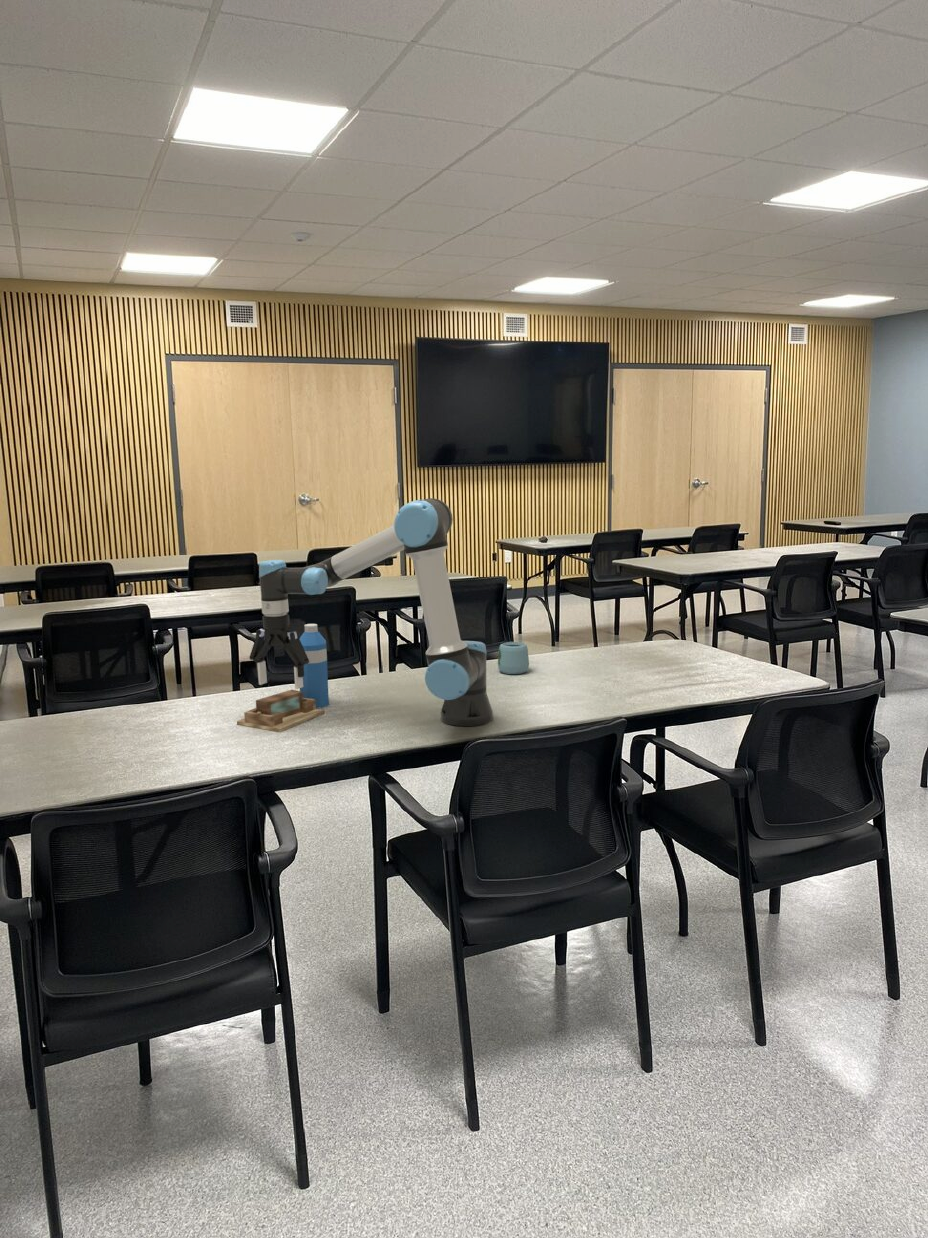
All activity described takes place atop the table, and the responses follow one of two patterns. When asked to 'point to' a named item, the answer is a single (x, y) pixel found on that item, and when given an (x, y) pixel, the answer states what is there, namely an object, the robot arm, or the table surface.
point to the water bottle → (315, 666)
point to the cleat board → (280, 717)
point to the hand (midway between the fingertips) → (280, 685)
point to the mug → (513, 658)
